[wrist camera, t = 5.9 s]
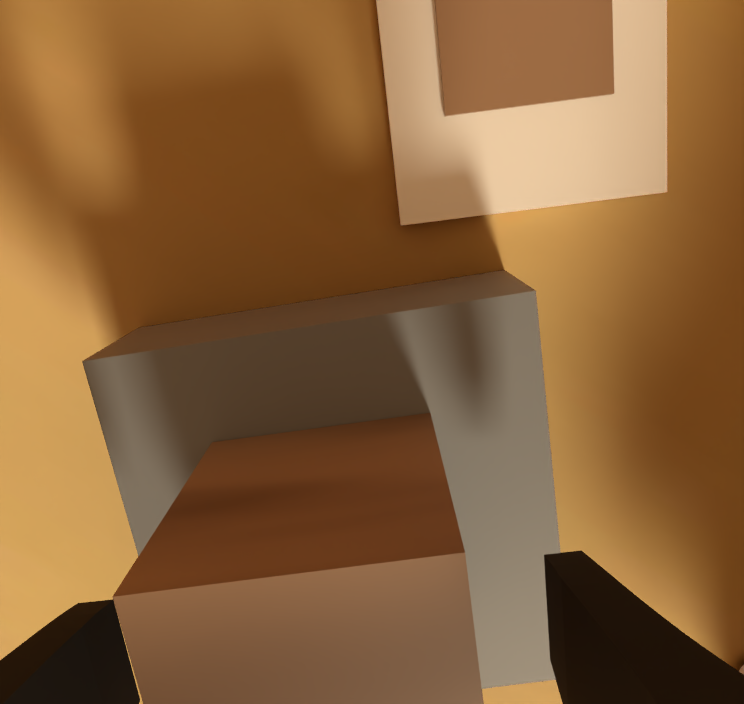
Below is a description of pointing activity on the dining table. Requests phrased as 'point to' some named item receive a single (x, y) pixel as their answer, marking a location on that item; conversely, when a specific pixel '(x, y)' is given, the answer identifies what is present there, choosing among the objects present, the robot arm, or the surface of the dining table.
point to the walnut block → (307, 575)
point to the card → (523, 103)
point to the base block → (364, 420)
